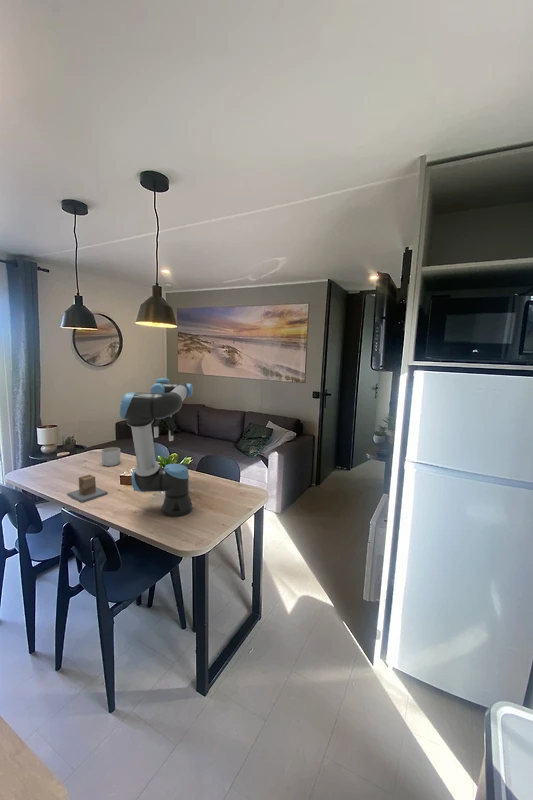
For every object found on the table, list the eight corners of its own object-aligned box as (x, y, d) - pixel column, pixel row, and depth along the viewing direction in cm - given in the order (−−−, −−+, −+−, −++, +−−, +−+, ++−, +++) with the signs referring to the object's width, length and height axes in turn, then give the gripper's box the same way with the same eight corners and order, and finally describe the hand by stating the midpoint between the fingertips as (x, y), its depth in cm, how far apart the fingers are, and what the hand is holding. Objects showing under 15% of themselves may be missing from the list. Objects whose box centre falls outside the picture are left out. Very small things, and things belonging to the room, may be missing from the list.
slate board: (107, 494, 181) (107, 491, 181) (82, 503, 170) (82, 500, 169) (92, 487, 190) (92, 485, 190) (67, 495, 178) (67, 493, 178)
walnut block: (95, 492, 180) (95, 476, 179) (85, 495, 175) (84, 480, 174) (90, 489, 184) (89, 474, 183) (79, 493, 179) (78, 477, 178)
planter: (97, 466, 226) (97, 451, 225) (109, 461, 238) (108, 446, 237) (113, 467, 224) (113, 452, 223) (124, 462, 236) (123, 448, 235)
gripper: (182, 405, 187) (182, 441, 190) (154, 401, 201) (155, 434, 203) (172, 407, 181) (172, 443, 184) (144, 402, 194) (145, 437, 197)
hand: (163, 439), depth 193 cm, fingers open, 13 cm apart
